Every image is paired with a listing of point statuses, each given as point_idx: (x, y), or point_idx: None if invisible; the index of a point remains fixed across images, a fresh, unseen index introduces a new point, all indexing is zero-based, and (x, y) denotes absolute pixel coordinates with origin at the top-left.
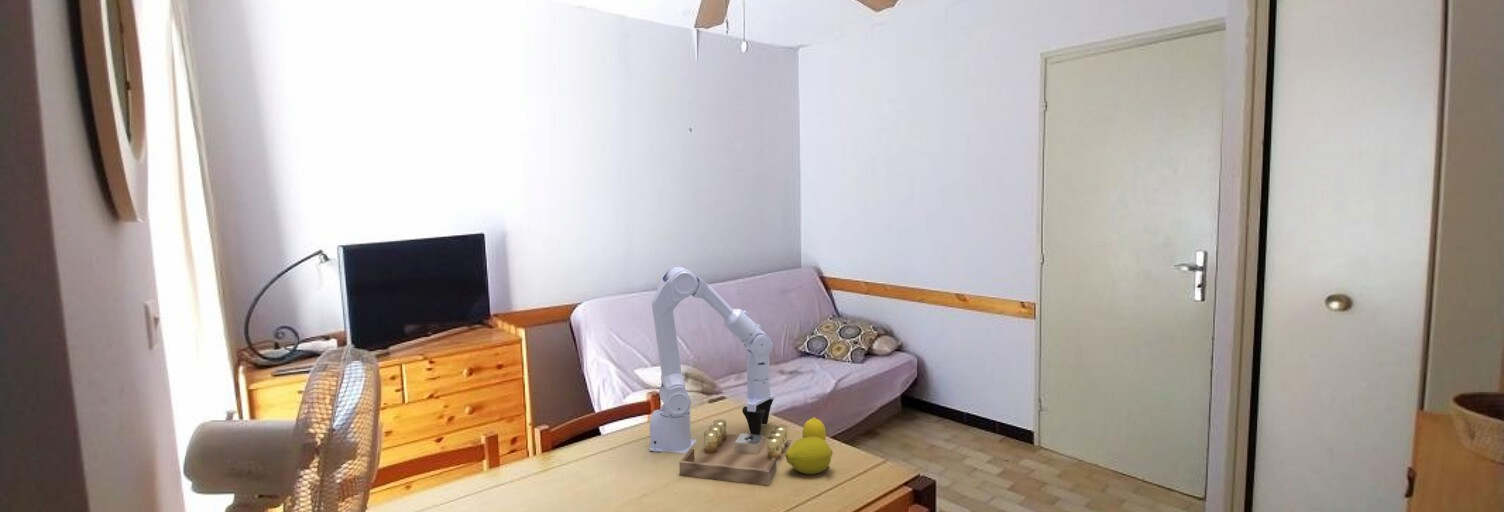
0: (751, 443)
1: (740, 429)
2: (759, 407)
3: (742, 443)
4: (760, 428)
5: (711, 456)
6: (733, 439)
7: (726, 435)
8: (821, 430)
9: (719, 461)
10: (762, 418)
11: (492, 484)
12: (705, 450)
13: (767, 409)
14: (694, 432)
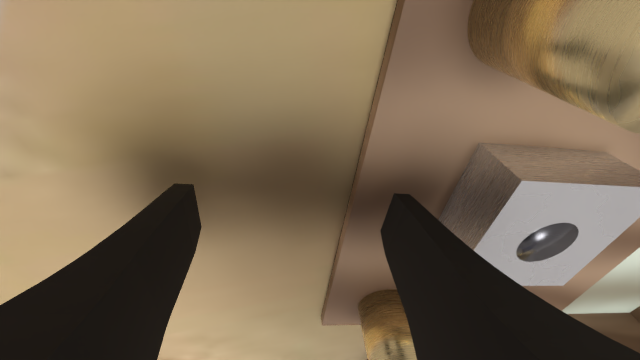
0: (628, 221)
1: (236, 267)
2: (146, 352)
3: (592, 256)
4: (440, 225)
5: (536, 292)
6: (387, 272)
7: (392, 307)
8: None
9: (593, 267)
10: (478, 291)
11: None
12: None
13: (127, 289)
14: (304, 353)
